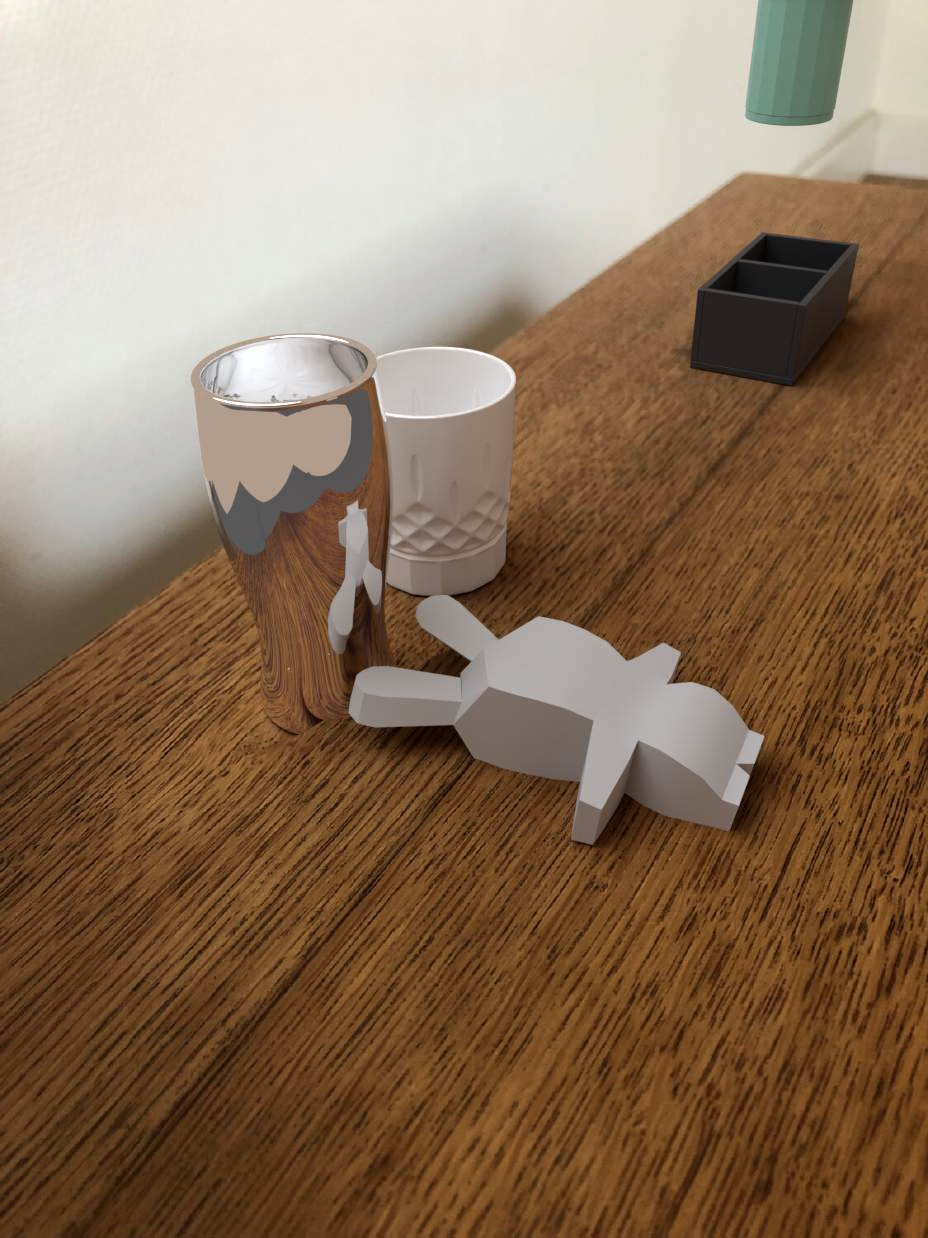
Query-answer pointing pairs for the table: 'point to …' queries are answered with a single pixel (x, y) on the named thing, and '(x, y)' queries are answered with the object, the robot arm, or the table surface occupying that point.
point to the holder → (772, 307)
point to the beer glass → (302, 510)
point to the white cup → (448, 466)
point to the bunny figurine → (574, 717)
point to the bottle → (797, 61)
